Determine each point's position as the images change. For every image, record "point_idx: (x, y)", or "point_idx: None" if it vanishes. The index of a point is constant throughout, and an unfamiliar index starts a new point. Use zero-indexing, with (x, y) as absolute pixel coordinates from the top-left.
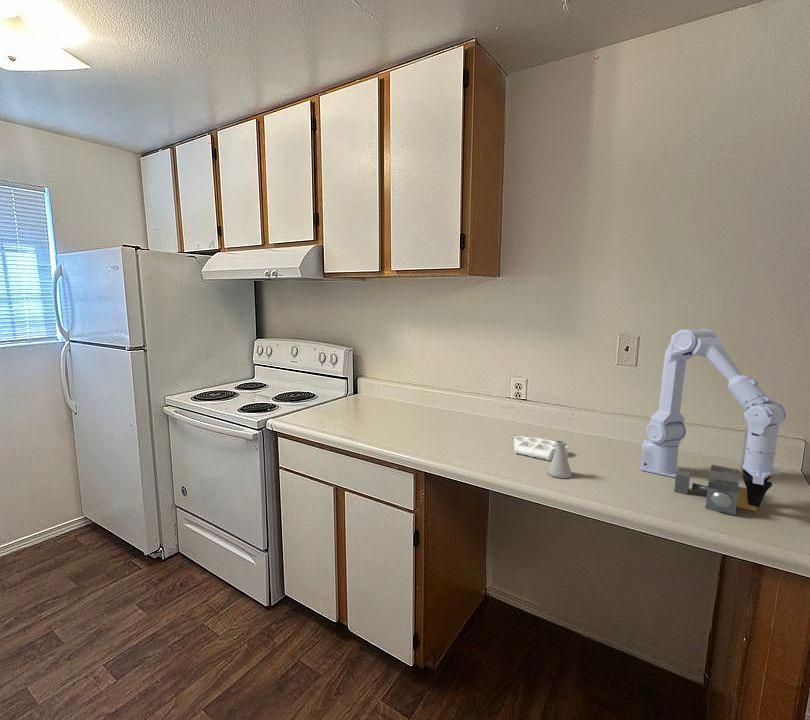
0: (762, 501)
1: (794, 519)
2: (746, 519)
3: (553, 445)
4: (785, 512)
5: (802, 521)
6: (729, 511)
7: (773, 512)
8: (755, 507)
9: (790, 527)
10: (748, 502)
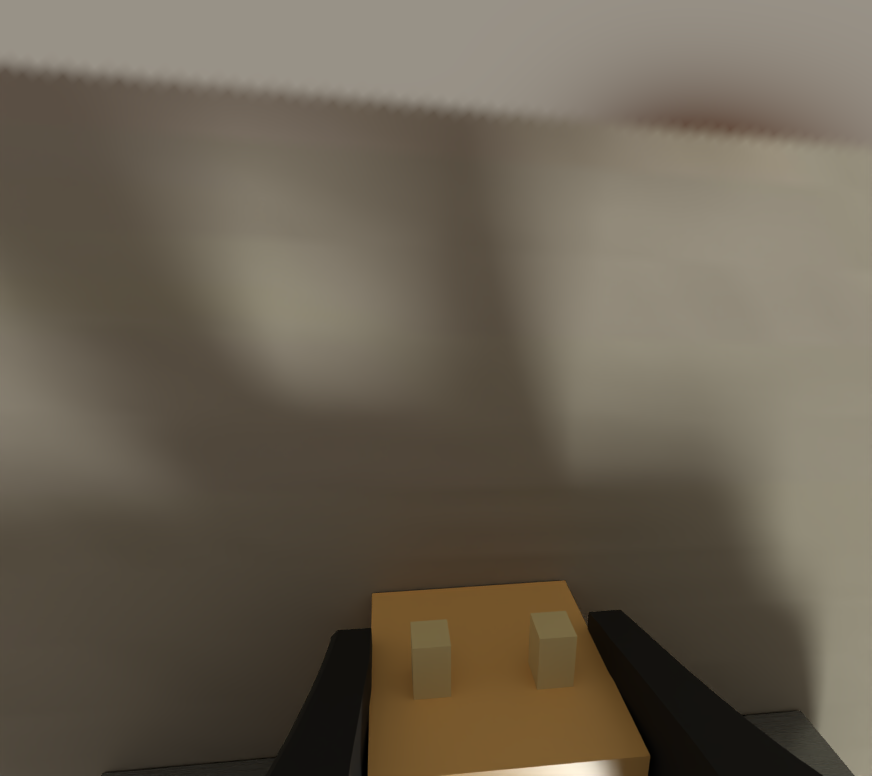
0: (571, 631)
1: (559, 222)
2: (841, 633)
3: None
4: (370, 311)
5: (569, 131)
6: None
7: (475, 433)
8: (576, 619)
9: (850, 280)
10: None
